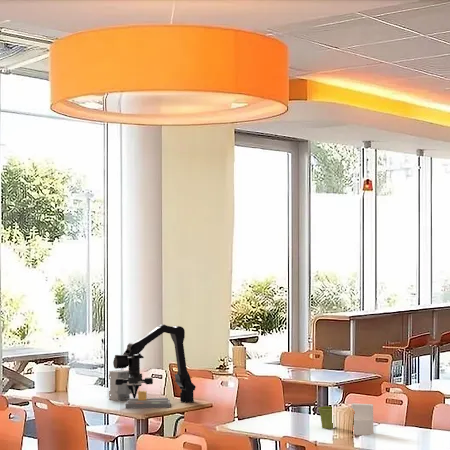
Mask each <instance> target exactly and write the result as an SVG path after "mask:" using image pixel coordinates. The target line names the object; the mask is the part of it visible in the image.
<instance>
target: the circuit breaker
mask: <svg viewBox="0 0 450 450" xmlns="http://www.w3.org/2000/svg"><path fill="white" fill-rule="evenodd" d="M128 375H129V370H126V369H125V370H122V369H116V370H109V374H108V380H109V390H108V397H109V398H108V400H110V399H111V400H110V401H118V400H121V401H126V400H125V399H127V400H129V399H130V398H131V395H130V394H132V392H131V389H130V388H129V386H127V383H123V384H122V385H116V384H115V381H116V379H117V378H124V380H128ZM135 385H136V384H135V383H133V386H134V394H135Z"/></svg>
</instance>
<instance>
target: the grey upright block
mask: <svg viewBox="0 0 450 450" xmlns="http://www.w3.org/2000/svg"><path fill="white" fill-rule="evenodd" d="M351 408H353V409H354V411H355V414H354V434H353V435H357V436H371V435H373V434H374V432H375V431H374V404H372V403H371V404H370V403H351Z"/></svg>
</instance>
